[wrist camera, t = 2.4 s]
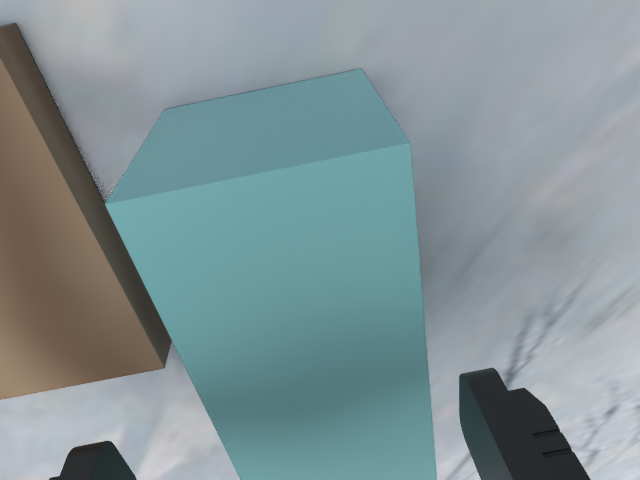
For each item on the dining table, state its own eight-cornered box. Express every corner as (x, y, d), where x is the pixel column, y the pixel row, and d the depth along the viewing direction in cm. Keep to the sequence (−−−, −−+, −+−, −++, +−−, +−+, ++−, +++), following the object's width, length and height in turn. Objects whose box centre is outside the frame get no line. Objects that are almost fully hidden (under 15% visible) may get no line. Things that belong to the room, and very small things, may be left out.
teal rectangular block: (361, 68, 14) (410, 142, 9) (397, 349, 21) (437, 483, 16) (164, 109, 14) (104, 204, 9) (262, 375, 21) (258, 516, 16)
